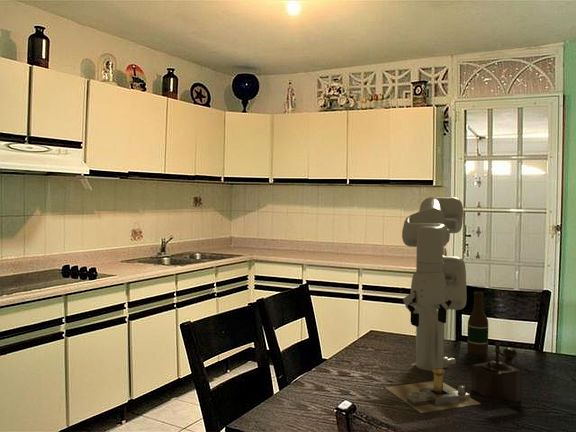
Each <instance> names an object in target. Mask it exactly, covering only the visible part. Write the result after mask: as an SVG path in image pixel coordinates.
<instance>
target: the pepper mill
mask: <svg viewBox="0 0 576 432" xmlns="http://www.w3.org/2000/svg"><path fill="white" fill-rule="evenodd" d="M494 347H495V348H494V351H495V359H494V360H489V361H486V362H483V363H476V364H472V366H471V367H472V370H471V391H472V392H473V391H474V392H475V393H477V394H478V395H482V396H484V397H486V398H488V399H490V400H492V401H495V402H502V401H506V400H507V401H508V400H509V401H511V402H513V404H514V403H519V402H521V401H522V384H523V382H522V381H523V370H520V369H518V368H516V367H513V365H514V363H515V361H514V360H515V359H516V358H517V357H518V352H517V350H516V349H514V348H513V347H506V348H504V349H503V351H501V349H500V348H501V345H500V344H499V343H496V344H495V346H494ZM500 356H502V357H504V359H503V360H502V361H500V359H499V358H500Z"/></svg>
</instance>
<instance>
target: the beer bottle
mask: <svg viewBox="0 0 576 432" xmlns="http://www.w3.org/2000/svg"><path fill="white" fill-rule="evenodd" d="M473 296H474V298H473V305H472V306H473V307H472V312H471V314H470V315H469V317H468V320H467V336H466V337H467V342H466V343H467V344H466V345H467V348H466V350H467V351H466V352H467V353H468V354H470V355H472V354H473V355H474V356H481V357H482V356H487V354H488V351H489V319H488V316H487V315H486V314H485V311H484V292H483V291H474V292H473ZM473 355H472V356H473Z"/></svg>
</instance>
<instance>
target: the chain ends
mask: <svg viewBox="0 0 576 432" xmlns="http://www.w3.org/2000/svg"><path fill="white" fill-rule="evenodd" d="M457 390H458V391H453V392H452V391H451V390H449V389H447V388H445V387H444V386H443V395H436V394H434V387H430V388H422V389H420V392H412V393H409V394H407V402H408V403H410V404H411V405H413V406H414V407H415V406H422V405H429V404H431V405H433V406H434V407H440V406H447V405H454V404H459V400H464V399H470V398H471V394H470V393H468V392H467V387H466V386H465V385H458V386H457ZM408 403H407V404H408Z"/></svg>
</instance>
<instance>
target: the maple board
mask: <svg viewBox="0 0 576 432" xmlns="http://www.w3.org/2000/svg"><path fill="white" fill-rule="evenodd" d="M443 386H444V387H445V388H447V389H449V390H451V391H452V392H453V391H458V389H456V388H454V387H452V386H451V385H448V384H446V383H445V382H443ZM430 387H434V380H432V381H430V380H429V381H423V382H417V383H409V384H400V385H393V386H392V385H391V386H385V389H387V390H388V391H389V392H390V393H392V394H394V395H395V396H396V397H398V398H399V399H400V400H402V401H403V402H405V403H406V404H408V405H410V406H411V408H413V409H415V410H416V411H418V412H419V413H420V414H423V413H424V414H425V413H428V412H429V413H430V412H436V411H437V412H438V411H444V410H448V409H456V408H457V409H458V408H462V407H470V406H471V407H472V406H475V405H476V406H477V405H481V404H482V403H481V402H479V401H477V400H475V399H474V398H472V397H470V399H464V400H459V404H454V405H447V406H440V407H434V406H433V405H431V404H429V405H422V406H415V407H414V406H413V405H411V404H410V403H408V402H407V394H409V393H412V392H420V389H422V388H430Z"/></svg>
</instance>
